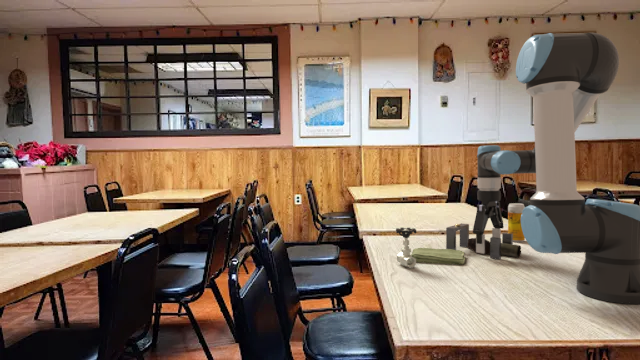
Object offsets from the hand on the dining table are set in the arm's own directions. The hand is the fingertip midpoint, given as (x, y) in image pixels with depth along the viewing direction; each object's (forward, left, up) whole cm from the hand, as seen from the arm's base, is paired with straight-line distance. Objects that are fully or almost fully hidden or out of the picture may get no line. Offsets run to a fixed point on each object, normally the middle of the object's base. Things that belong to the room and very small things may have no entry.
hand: (488, 249), depth 143 cm
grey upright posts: (0, +4, -1) cm, 4 cm away
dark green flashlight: (0, -1, -2) cm, 2 cm away
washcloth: (-18, +10, -2) cm, 21 cm away
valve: (-33, +12, -2) cm, 35 cm away
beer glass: (+28, 0, -2) cm, 28 cm away
